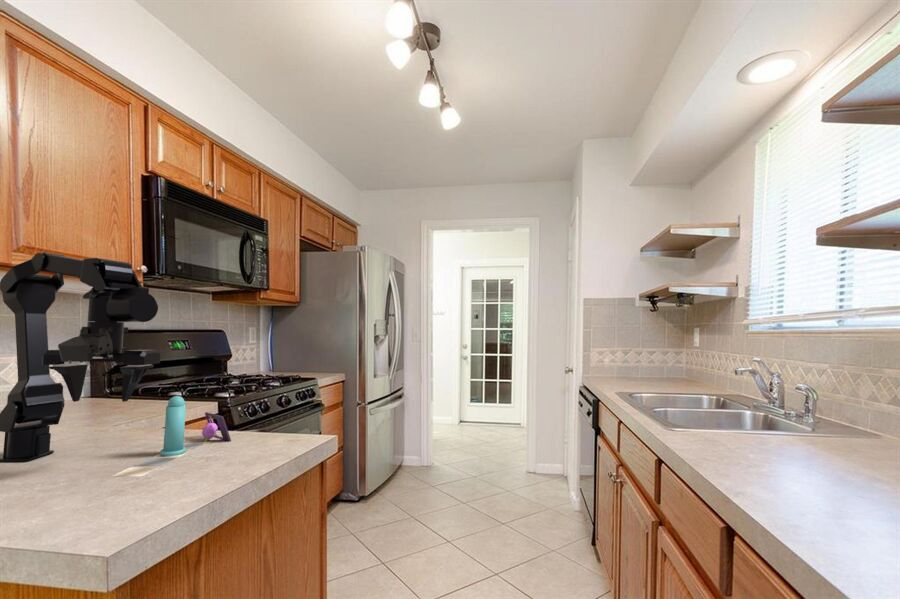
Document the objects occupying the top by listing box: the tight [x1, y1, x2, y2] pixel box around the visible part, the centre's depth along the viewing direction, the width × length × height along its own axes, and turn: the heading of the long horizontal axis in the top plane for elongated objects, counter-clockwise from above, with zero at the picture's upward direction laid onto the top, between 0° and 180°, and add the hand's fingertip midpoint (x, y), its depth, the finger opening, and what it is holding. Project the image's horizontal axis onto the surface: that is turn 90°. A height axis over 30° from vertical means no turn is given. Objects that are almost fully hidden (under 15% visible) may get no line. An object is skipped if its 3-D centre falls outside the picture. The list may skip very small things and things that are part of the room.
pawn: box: [159, 395, 187, 456], centre depth 92 cm, size 5×5×12 cm
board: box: [110, 441, 212, 478], centre depth 88 cm, size 8×26×1 cm, turn 3°
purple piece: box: [201, 411, 232, 442], centre depth 105 cm, size 7×5×9 cm
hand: (100, 401), depth 84 cm, fingers open, 9 cm apart
